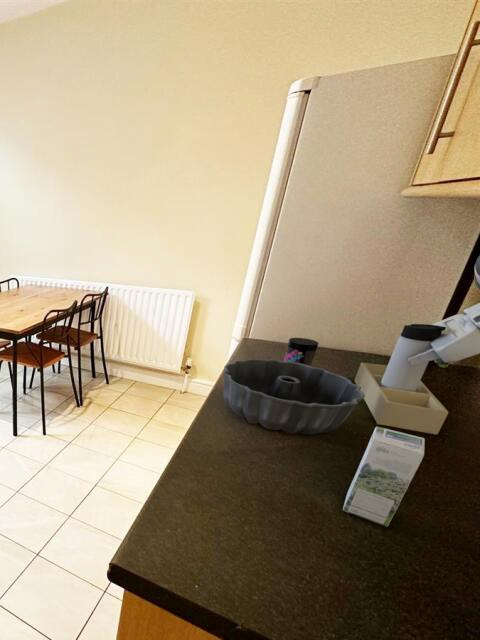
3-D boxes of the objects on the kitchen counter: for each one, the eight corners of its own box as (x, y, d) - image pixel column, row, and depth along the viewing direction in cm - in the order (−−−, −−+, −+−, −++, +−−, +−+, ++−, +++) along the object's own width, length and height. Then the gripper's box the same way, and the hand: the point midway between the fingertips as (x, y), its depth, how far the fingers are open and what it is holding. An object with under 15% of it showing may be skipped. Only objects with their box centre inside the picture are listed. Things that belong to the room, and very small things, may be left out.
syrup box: (390, 510, 69) (426, 436, 63) (387, 529, 66) (426, 452, 60) (346, 495, 73) (376, 424, 67) (341, 512, 69) (372, 438, 63)
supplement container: (278, 369, 126) (287, 336, 121) (305, 372, 122) (316, 339, 118) (280, 377, 120) (290, 343, 116) (309, 381, 117) (320, 346, 113)
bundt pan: (383, 444, 87) (401, 402, 83) (258, 448, 87) (271, 406, 83) (292, 391, 111) (303, 357, 107) (194, 394, 111) (202, 360, 107)
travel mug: (399, 409, 99) (435, 329, 91) (368, 398, 105) (398, 321, 97) (417, 405, 100) (453, 326, 92) (385, 394, 106) (417, 319, 98)
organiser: (401, 387, 111) (410, 368, 109) (437, 434, 90) (448, 412, 88) (354, 380, 116) (361, 362, 114) (377, 424, 95) (386, 402, 92)
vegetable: (427, 366, 124) (457, 300, 116) (428, 362, 126) (457, 297, 118) (449, 370, 121) (481, 302, 113) (450, 366, 123) (481, 300, 115)
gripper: (467, 301, 96) (393, 334, 106) (490, 321, 82) (402, 357, 92) (487, 322, 96) (410, 354, 105) (514, 346, 81) (422, 380, 91)
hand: (407, 356), depth 98 cm, fingers open, 8 cm apart
